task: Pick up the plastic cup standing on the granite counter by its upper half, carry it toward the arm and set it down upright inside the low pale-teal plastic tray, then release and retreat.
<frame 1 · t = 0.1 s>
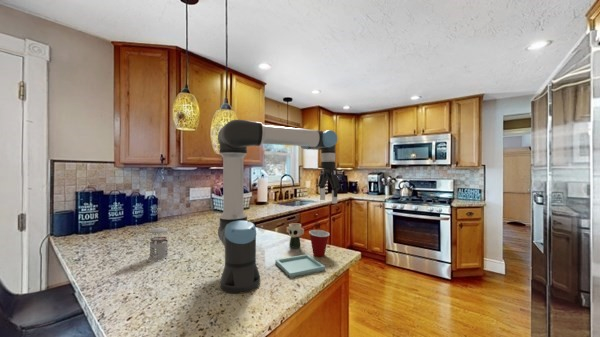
hand: (328, 201, 128), 28 cm above the countertop, fingers open, 13 cm apart
tray: (299, 266, 111), on the countertop
french press: (157, 257, 122), on the countertop
plastic cup: (319, 255, 126), on the countertop
character mug: (295, 247, 139), on the countertop
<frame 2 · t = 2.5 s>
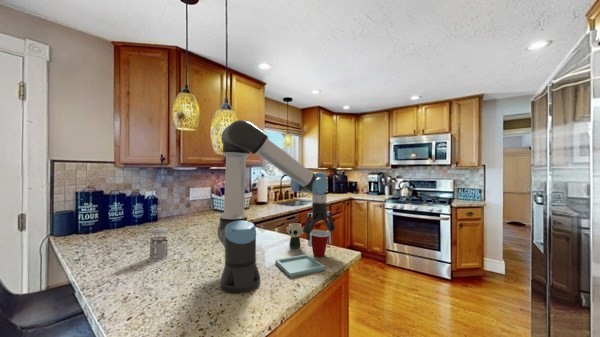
hand: (319, 244, 126), 5 cm above the countertop, fingers closed on plastic cup, 11 cm apart
plastic cup: (319, 255, 126), on the countertop, touching gripper
everything else where it was.
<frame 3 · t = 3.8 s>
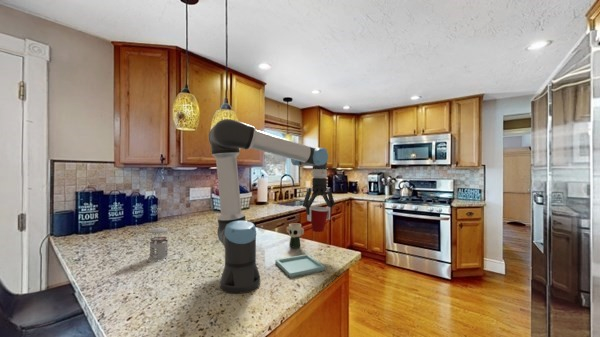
hand: (318, 220, 126), 18 cm above the countertop, fingers closed on plastic cup, 11 cm apart
plastic cup: (318, 231, 126), point 13 cm above the countertop, touching gripper
everything else where it was.
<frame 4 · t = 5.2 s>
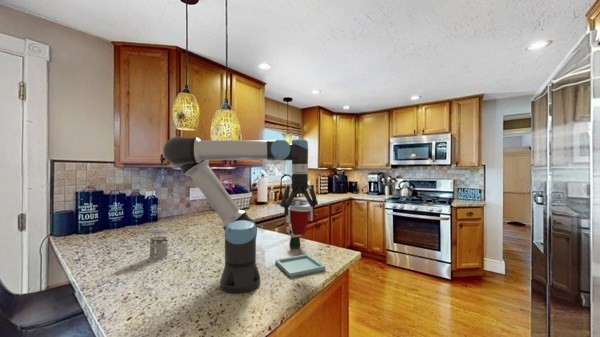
hand: (299, 221, 111), 21 cm above the countertop, fingers closed on plastic cup, 11 cm apart
plastic cup: (299, 233, 111), point 15 cm above the countertop, touching gripper
everything else where it was.
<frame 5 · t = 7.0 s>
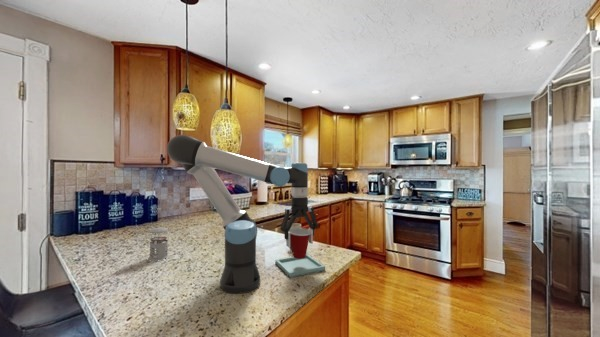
hand: (299, 244, 111), 10 cm above the countertop, fingers closed on plastic cup, 11 cm apart
plastic cup: (299, 257, 111), point 4 cm above the countertop, touching gripper
everything else where it was.
when the fingers open (7 cm above the countertop, at t = 8.2 s): plastic cup drops 1 cm, resting on tray.
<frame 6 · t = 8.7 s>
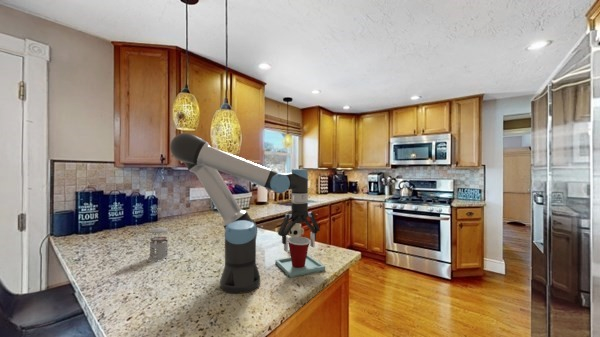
hand: (299, 248, 111), 8 cm above the countertop, fingers open, 13 cm apart
plastic cup: (298, 266, 111), resting on tray
everything else where it was.
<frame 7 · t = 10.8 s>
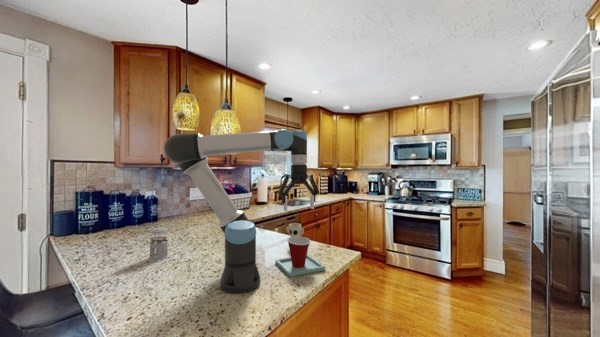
hand: (299, 209, 113), 26 cm above the countertop, fingers open, 13 cm apart
nothing on the countertop moved.
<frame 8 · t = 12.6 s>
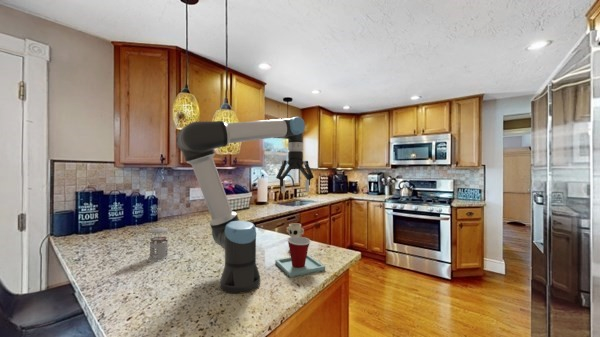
hand: (295, 192, 125), 33 cm above the countertop, fingers open, 13 cm apart
nothing on the countertop moved.
at the end: plastic cup inside the target area on the tray (0.3 cm from its centre), point 0.4 cm above the tray's base; plastic cup tilted 0°; the gripper is holding nothing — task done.
